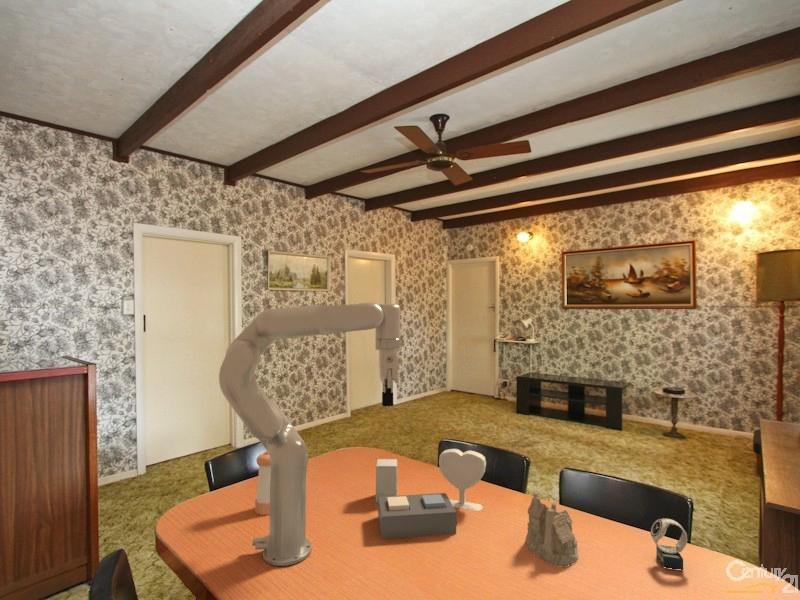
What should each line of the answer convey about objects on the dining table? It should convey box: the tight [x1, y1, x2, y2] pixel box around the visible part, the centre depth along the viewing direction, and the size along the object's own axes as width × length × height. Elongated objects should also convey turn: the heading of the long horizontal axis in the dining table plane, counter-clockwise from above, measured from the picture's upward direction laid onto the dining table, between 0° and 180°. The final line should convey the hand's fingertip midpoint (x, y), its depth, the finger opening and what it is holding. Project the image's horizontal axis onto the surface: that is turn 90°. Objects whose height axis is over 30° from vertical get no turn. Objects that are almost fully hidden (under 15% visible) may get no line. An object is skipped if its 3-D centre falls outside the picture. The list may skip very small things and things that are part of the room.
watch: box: [650, 518, 688, 571], centre depth 108 cm, size 6×8×11 cm
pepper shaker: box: [254, 450, 271, 516], centre depth 137 cm, size 7×7×19 cm
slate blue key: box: [422, 493, 445, 509], centre depth 128 cm, size 6×6×5 cm
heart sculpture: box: [438, 448, 487, 512], centre depth 141 cm, size 16×5×18 cm, turn 70°
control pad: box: [377, 492, 457, 540], centre depth 127 cm, size 22×13×6 cm, turn 98°
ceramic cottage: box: [525, 491, 579, 567], centre depth 116 cm, size 16×16×15 cm
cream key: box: [387, 495, 409, 511], centre depth 127 cm, size 6×6×5 cm
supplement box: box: [375, 458, 398, 504], centre depth 145 cm, size 7×7×13 cm
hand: (387, 405), depth 125 cm, fingers closed
